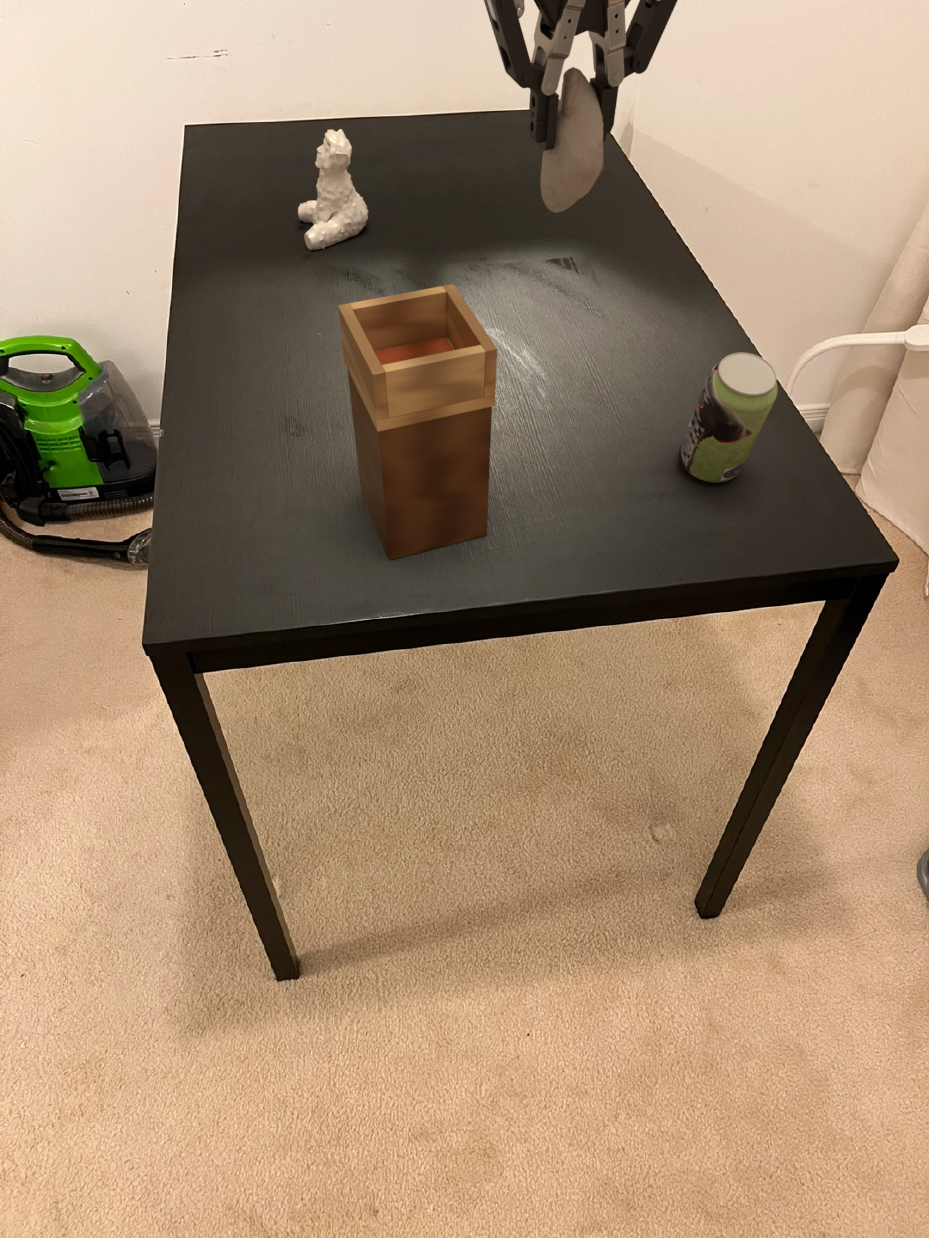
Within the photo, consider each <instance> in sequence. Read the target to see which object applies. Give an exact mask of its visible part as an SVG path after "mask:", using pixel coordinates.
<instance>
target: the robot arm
mask: <svg viewBox="0 0 929 1238" xmlns="http://www.w3.org/2000/svg"><path fill="white" fill-rule="evenodd" d="M631 1H632V0H533V2H534V4H535V6H536V7H537V9H538V16H537V20H536V25H535V29H534V33H533V42H534V48H533V52H532V55H531V56H532V57H531V58H530V54H529V51H528V47H527V44H526V41H525V37H524V33H523V29H522V25H521V23H520V19H521V18H522V16H523V15H524V13H525V9H526V7H525V0H483V3H484V5H485V9H486V12H487V15H488V19H489V22H490V26H491V29H492V31H493V35H494V38H495V42H496V45H497V48H498V52H499V55H500V58H501V61H502V65H503V68H504V71H505V73H506V74H507V75H508V76H509V77H510V78H511V79H512V80H513V81H514V83H516V84H517V85H518V86H519V87H520V88H521V89H529V108H528V122H527V123H528V124H527V129H528V132H529V135H530V136H531V138H532V139H533V140H534V141H535V144H536V145H537V146H538V147H539V148H540V149H541V150H542V151H543V152H544V151H546V150H553V149H554V147H555V138H556V126H557V114H558V102H559V99H560V95H559V94H558V93H557V90H558V88H559V85H560V84H559V83H560V79H561V77H562V72H563V68H564V64H565V61H566V59H568V58H569V57H570V55H571V51H572V47H573V43H574V40H575V37H576V36H579V35H581V34H583V33H586V32H588V36H589V39H590V42H591V48H592V63H593V71H594V73H595V75H594V77H590V78H589V83H590V84H591V85H592V87H593V88H594V90H595V92H596V93H597V97H598V100H599V104H600V109H601V113H602V118H603V124H604V125H603V143H605V142H606V141H607V134H611V132H612V131H613V128H614V125H615V118H616V110H617V103H618V96H619V95H618V94H619V88H620V85H621V84H622V83H623V81H624V79H626V78H627V77H629V76H631V75H633V74H634V73H635V74H636V75H641V74H644V73H645V72H646V71H647V70H648V68H649V65H650V63H651V61H652V58H653V57H654V54H655V52H656V50H657V48H658V45H659V43H660V41H661V38H662V36H663V34H664V32H665V31H666V28H667V25H668V23H669V21H670V18H671V16H672V14H673V12H674V9H675V7H676V6H677V3H678V1H679V0H639V1H638V3H637V6H636V8H635V10H634V13H633V15H632V17H631V20H630V22H629V24H628V27H627V30H626V8H628V6H629V4H630V2H631Z"/></svg>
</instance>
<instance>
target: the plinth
mask: <svg viewBox="0 0 929 1238" xmlns="http://www.w3.org/2000/svg"><path fill="white" fill-rule="evenodd" d="M346 369H347V368H346ZM347 378H348V387H349V396H350V406H351V415H352V424H353V432H354V441H355V451H356V461H357V469H358V478H359V487H360V494H361V497H362V499H363V501H364V503H365V506H366V508H367V511H368V514H369V515H370V518H371V520H372V522H373V524H374V527H375V529H376V532H377V534H378V536H379V539H380V541H381V542H382V546H383V548H384V550H385V553H386V555H387V558H388V559H389V561H392V560H396V559H400V558H403V557H408V556H412V555H416V554H419V553H423V552H427V551H432V550H435V549H439V548H443V547H445V546H446V547H447V546H450V545H454V544H458V543H463V542H466V541H470V540H474V539H477V538H482V537H485V536H487V535H488V513H489V490H490V467H491V466H490V465H491V442H492V437H491V436H492V419H493V418H492V416H493V415H492V414H493V406H492V407H487V408H483V409H478V410H474V411H469V412H465V413H460V414H455V415H451V416H446V417H442V418H437V419H433V420H428V421H424V422H419V423H415V424H410V425H406V426H401V427H397V428H392V429H388V430H383V431H379V432H378V431H377V430H376V428H375V425H374V423H373V421H372V419H371V417H370V415H369V413H368V411H367V409H366V406H365V404H364V402H363V400H362V398H361V396H360V394H359V392H358V390H357V388H356V385H355V383H354V381H353V379H352V377H351V375H350V373H349V371H348V369H347Z"/></svg>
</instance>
